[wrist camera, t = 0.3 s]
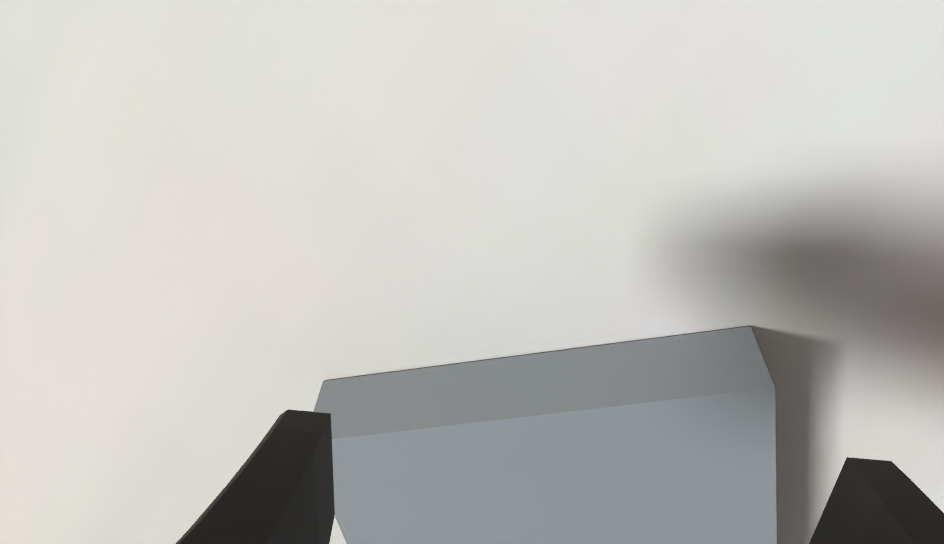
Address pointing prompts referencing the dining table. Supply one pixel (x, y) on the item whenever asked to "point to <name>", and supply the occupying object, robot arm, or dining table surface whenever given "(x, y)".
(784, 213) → the dining table surface
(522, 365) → the slate plinth
